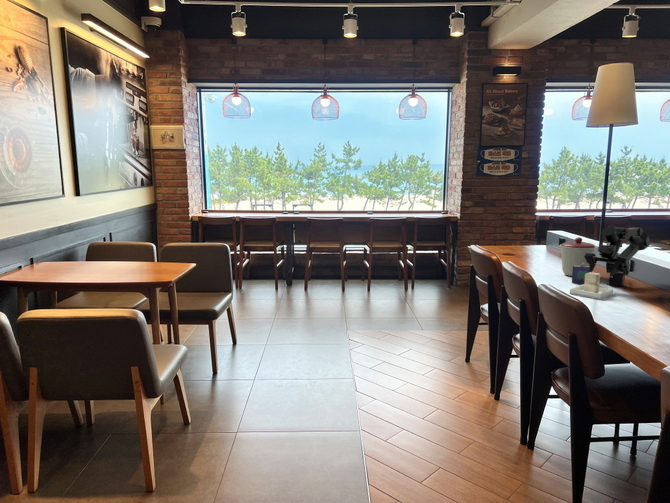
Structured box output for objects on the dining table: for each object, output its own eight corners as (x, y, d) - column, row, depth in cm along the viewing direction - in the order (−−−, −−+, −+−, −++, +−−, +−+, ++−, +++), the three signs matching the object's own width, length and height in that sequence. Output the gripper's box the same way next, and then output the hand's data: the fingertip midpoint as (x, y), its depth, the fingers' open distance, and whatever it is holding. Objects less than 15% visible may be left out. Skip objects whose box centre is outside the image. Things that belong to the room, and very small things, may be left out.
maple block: (588, 290, 223) (589, 272, 221) (598, 292, 219) (600, 273, 217) (583, 292, 220) (585, 273, 218) (593, 294, 216) (595, 275, 215)
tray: (583, 289, 229) (583, 284, 228) (612, 294, 218) (613, 289, 218) (569, 293, 221) (570, 288, 220) (599, 299, 210) (599, 294, 210)
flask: (590, 283, 242) (591, 262, 240) (592, 284, 239) (593, 263, 237) (570, 282, 244) (572, 262, 242) (572, 283, 241) (573, 263, 239)
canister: (595, 273, 263) (598, 236, 259) (594, 280, 247) (597, 240, 244) (559, 270, 272) (562, 234, 268) (556, 276, 257) (558, 238, 253)
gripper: (587, 236, 230) (574, 261, 225) (629, 240, 215) (616, 267, 211) (593, 250, 236) (581, 275, 231) (634, 255, 221) (622, 281, 217)
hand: (599, 274), depth 222 cm, fingers open, 9 cm apart
